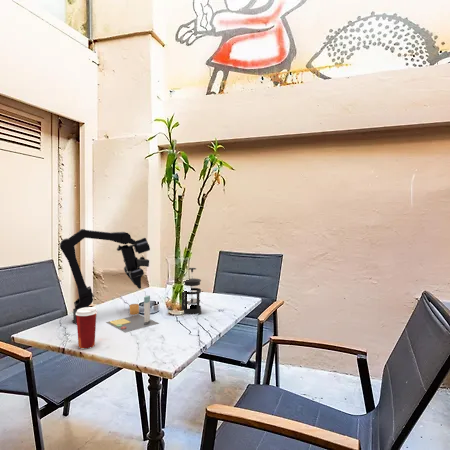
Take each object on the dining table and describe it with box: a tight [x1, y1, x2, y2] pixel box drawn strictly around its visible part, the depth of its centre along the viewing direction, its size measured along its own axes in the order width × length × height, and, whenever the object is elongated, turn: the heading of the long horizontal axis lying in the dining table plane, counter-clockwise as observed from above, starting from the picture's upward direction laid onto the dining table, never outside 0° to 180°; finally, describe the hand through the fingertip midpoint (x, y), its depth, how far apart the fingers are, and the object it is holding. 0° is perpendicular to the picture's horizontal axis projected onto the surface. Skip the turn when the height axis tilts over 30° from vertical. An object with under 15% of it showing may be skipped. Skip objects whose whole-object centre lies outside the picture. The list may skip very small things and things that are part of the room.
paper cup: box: [75, 306, 98, 349], centre depth 129 cm, size 8×8×14 cm
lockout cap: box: [129, 303, 140, 316], centre depth 168 cm, size 4×4×5 cm
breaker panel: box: [105, 314, 160, 333], centre depth 154 cm, size 17×18×1 cm
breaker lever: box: [143, 295, 151, 322], centre depth 153 cm, size 2×3×11 cm, turn 172°
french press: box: [181, 267, 202, 316], centre depth 171 cm, size 12×9×23 cm
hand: (137, 286), depth 169 cm, fingers open, 9 cm apart
